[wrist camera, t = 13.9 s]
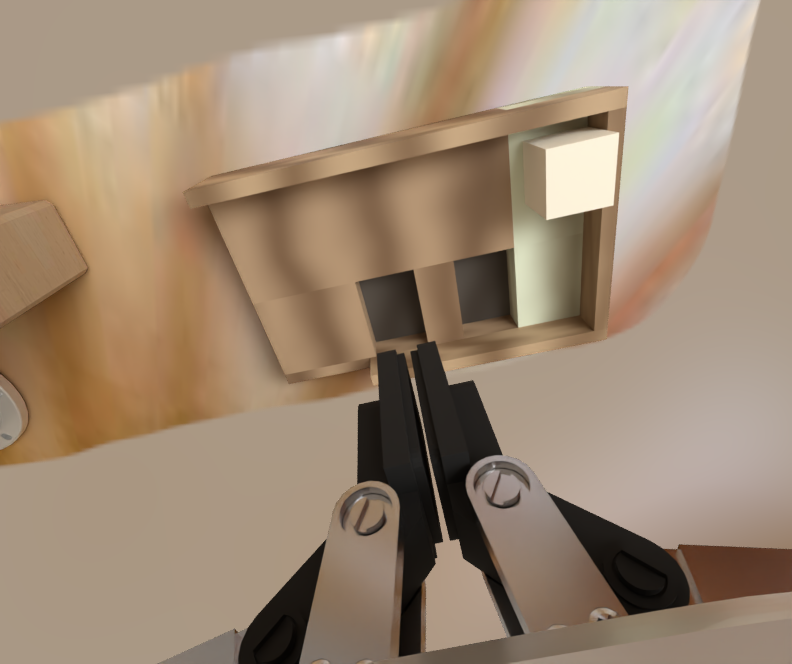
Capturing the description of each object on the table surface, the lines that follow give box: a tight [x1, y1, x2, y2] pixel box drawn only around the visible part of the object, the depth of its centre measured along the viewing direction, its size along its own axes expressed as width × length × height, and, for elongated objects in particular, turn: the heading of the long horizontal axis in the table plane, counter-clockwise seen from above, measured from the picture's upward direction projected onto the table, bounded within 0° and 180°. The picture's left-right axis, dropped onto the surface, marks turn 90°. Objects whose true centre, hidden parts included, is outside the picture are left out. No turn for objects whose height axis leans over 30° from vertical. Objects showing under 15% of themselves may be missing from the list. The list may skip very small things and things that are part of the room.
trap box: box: [183, 86, 628, 386], centre depth 29 cm, size 26×17×5 cm, turn 102°
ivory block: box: [523, 126, 619, 220], centre depth 25 cm, size 4×4×4 cm
